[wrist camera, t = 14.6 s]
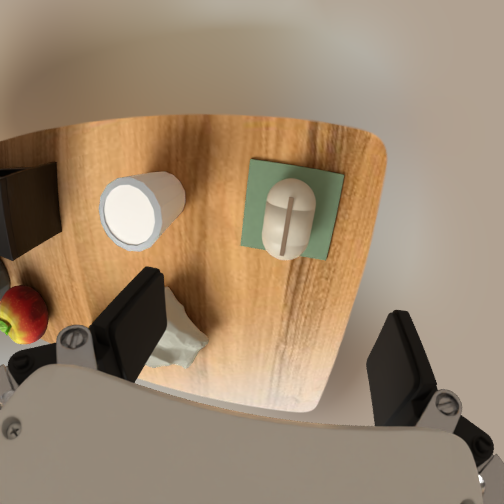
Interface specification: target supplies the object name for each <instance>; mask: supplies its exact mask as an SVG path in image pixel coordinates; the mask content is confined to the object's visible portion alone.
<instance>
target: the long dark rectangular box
mask: <svg viewBox="0 0 504 504" xmlns="http://www.w3.org/2000/svg"><path fill="white" fill-rule="evenodd" d="M60 232H62V229H61V221H60V212H59V201H58V187H57V162H50V163H47V164H43V165H39V166H36V167H16V168H0V256H2V257H4V258H7V259H9V260H12V261H14V260H15V259H17V258H18V257H20V256H22V255H23V254H25V253H26V252H28V251H30V250H31V249H33V248H34V247H36V246H38V245H39V244H41V243H43V242H44V241H46V240H48V239H50V238H51V237H53V236H55V235H56V234H58V233H60Z"/></svg>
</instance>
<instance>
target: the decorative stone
mask: <svg viewBox="0 0 504 504" xmlns="http://www.w3.org/2000/svg"><path fill="white" fill-rule="evenodd" d="M165 302H166V314H167V328H166V331H165V333H164V334H163V336H162V337H161V339H160V341H159V342H158V344H157V346H156V347H155V349H154V351H153V352H152V354H151V356H150V357H149V359H148V361H147V362H146V364H145V365H147V366H149V367H152V368H156V367H160V366H169V365H171V364H176V365H180V366H182V367H183V368H188V367H189V366H190V365H191V364H192V363H193V361H194V359H195V357H196V355H197V354H198V352H199V351H200V349H202V348H203V347H204V346H205V345H207V344H208V342H209V339H208V337H207V336H206V335H205V334H203V333H202V332H201V331H200V330H199V329H198V328H197V327H196V326H195V325H194V324H193V323H192V321H191V320H190V319H189V318H188V317H187V315H186V313H185V310H184V309H185V308H184V306H183V305H182V304H181V303H179V302H178V301H177V299H176V298H175V296H174V295H173V293H172V291H171V290H170V288H169V287H165Z"/></svg>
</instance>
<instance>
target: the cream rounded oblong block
mask: <svg viewBox="0 0 504 504" xmlns="http://www.w3.org/2000/svg"><path fill="white" fill-rule="evenodd" d="M315 208H316V199H315V195H314V193H313V191H312V189H311V188H310V187H309V186H308V185H307V184H306V183H305V182H303V181H301V180H298V179H294V178H289V179H284V180H281V181H279V182H277V183H276V184H275V185H274V186H273V187H272V188H271V189H270V191H269V193H268V196H267V200H266V207H265V215H264V222H263V229H262V242H263V245H264V247H265V249H266V250H267V252H268V253H269V254H270V255H272V256H273V257H275V258H277V259H280V260H292V259H294V258H297V257H298V256H300V255H301V254H302V253H303V252H304V251H305V250H306V248H307V246H308V243H309V239H310V234H311V229H312V224H313V219H314V213H315Z"/></svg>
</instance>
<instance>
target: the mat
mask: <svg viewBox="0 0 504 504" xmlns="http://www.w3.org/2000/svg"><path fill="white" fill-rule="evenodd" d="M289 178H294V179H298V180H301V181H303V182H305V183H306V184H307V185H308V186H309V187H310V188H311V189H312V191H313V193H314V195H315V199H316V208H315V213H314V219H313V224H312V229H311V234H310V239H309V243H308V246H307V248H306V250H305V251H304V252H303V253H302V254H301V255H300V256H304V257H309V258H315V259H321V260H326V258H327V254H328V250H329V245H330V241H331V237H332V232H333V228H334V223H335V219H336V214H337V209H338V205H339V200H340V195H341V190H342V184H343V179H344V175H343V174H339V173H334V172H329V171H323V170H318V169H313V168H307V167H301V166H295V165H289V164H283V163H276V162H269V161H262V160H255V159H250V166H249V175H248V184H247V192H246V201H245V210H244V219H243V228H242V237H241V246H245V247H251V248H257V249H263V250H266V249H265V247H264V245H263V242H262V229H263V222H264V215H265V207H266V200H267V196H268V193H269V191H270V189H271V188H272V187H273V186H274V185H275V184H276V183H277V182H279V181H281V180H284V179H289Z"/></svg>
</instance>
